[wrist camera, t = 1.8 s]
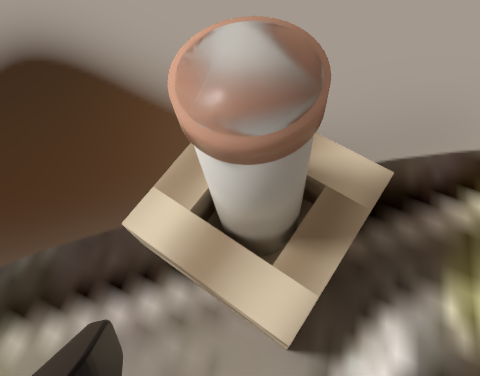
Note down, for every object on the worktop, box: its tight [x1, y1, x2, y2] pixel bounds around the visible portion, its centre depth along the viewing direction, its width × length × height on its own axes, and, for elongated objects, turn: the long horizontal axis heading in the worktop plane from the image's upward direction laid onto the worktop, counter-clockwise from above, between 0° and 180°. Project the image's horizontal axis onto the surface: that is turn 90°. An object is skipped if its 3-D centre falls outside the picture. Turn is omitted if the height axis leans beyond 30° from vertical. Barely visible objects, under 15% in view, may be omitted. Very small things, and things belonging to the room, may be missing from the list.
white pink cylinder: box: [168, 16, 331, 256], centre depth 17 cm, size 5×5×12 cm
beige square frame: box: [122, 133, 394, 350], centre depth 21 cm, size 10×10×4 cm
